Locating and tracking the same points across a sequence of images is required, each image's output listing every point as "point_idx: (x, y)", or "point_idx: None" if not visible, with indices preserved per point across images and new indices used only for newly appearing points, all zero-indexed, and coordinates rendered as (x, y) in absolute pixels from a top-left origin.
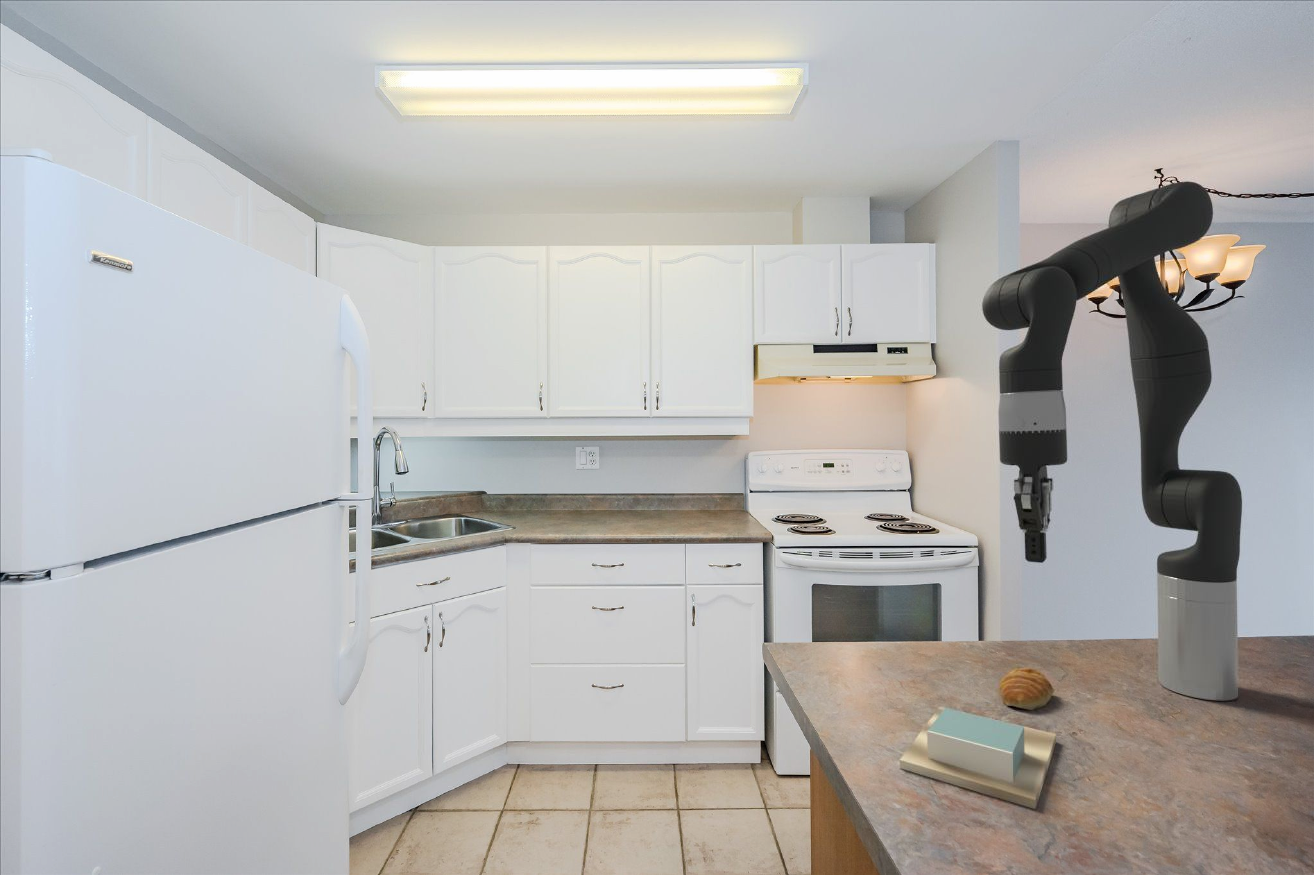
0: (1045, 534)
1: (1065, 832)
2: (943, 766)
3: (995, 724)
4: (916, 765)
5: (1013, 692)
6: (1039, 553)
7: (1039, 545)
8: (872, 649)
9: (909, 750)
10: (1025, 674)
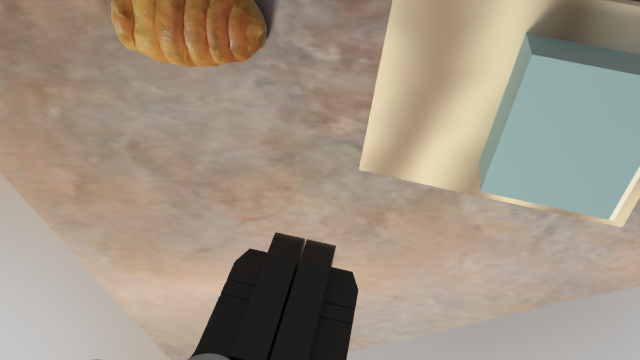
0: (252, 350)
1: None
2: None
3: (539, 108)
4: (634, 204)
5: (241, 45)
6: (355, 300)
7: (347, 336)
8: (115, 261)
9: (579, 214)
10: (158, 24)
